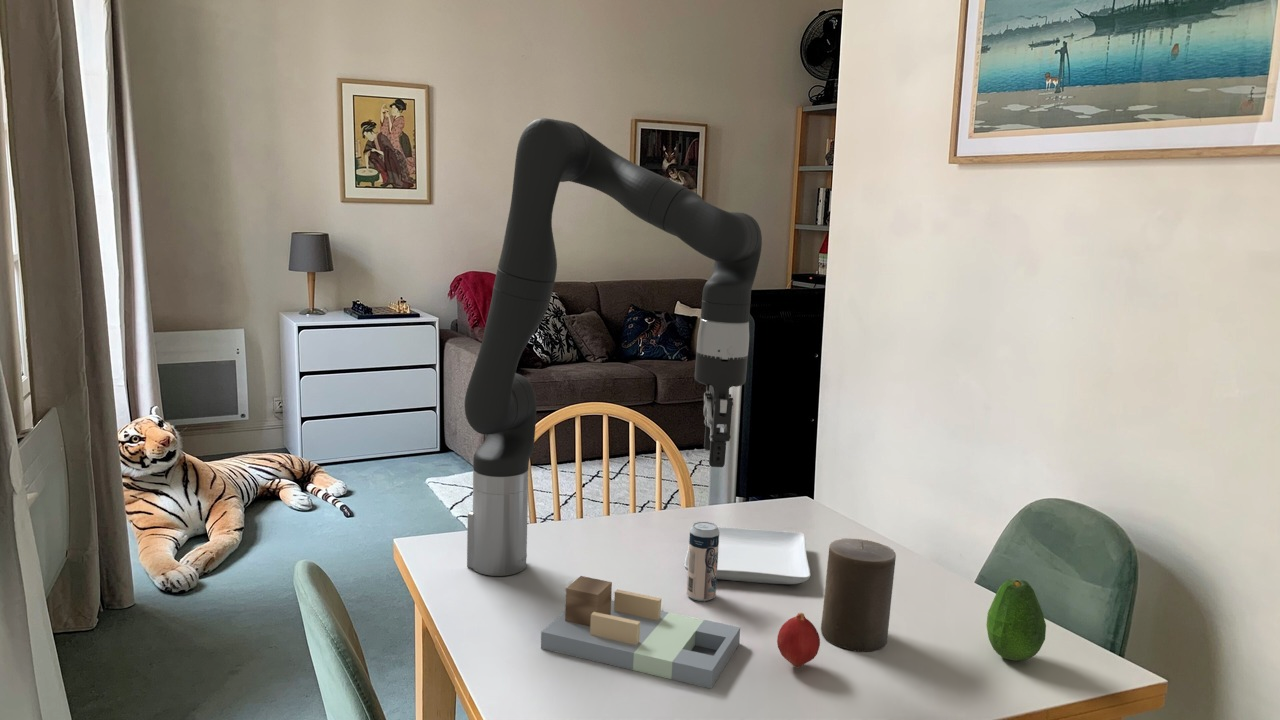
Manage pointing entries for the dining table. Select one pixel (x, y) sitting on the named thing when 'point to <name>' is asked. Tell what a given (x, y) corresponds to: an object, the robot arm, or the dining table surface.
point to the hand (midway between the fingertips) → (713, 457)
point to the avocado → (1016, 621)
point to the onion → (798, 640)
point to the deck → (647, 640)
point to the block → (587, 599)
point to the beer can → (703, 561)
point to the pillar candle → (858, 594)
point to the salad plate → (761, 556)
